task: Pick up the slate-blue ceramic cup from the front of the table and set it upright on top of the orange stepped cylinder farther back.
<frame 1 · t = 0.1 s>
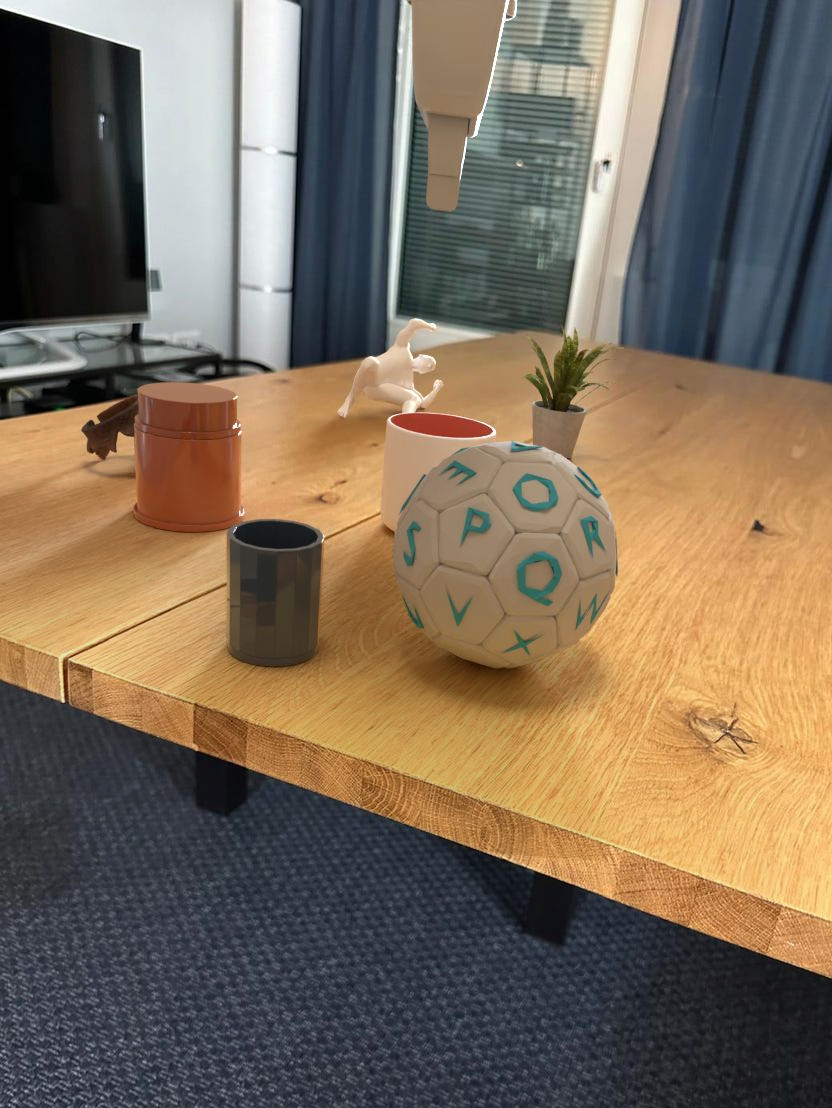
hand: (442, 210, 57), 28 cm above the table, tool pointing down, fingers open, 8 cm apart
person figurine: (392, 413, 134), on the table
orange stepped cylinder: (189, 514, 84), on the table
slate cup: (273, 646, 62), on the table
puzzle ball: (492, 657, 65), on the table
cup: (431, 531, 88), on the table
house plant: (559, 458, 121), on the table
dark brown jagged part: (147, 467, 96), on the table
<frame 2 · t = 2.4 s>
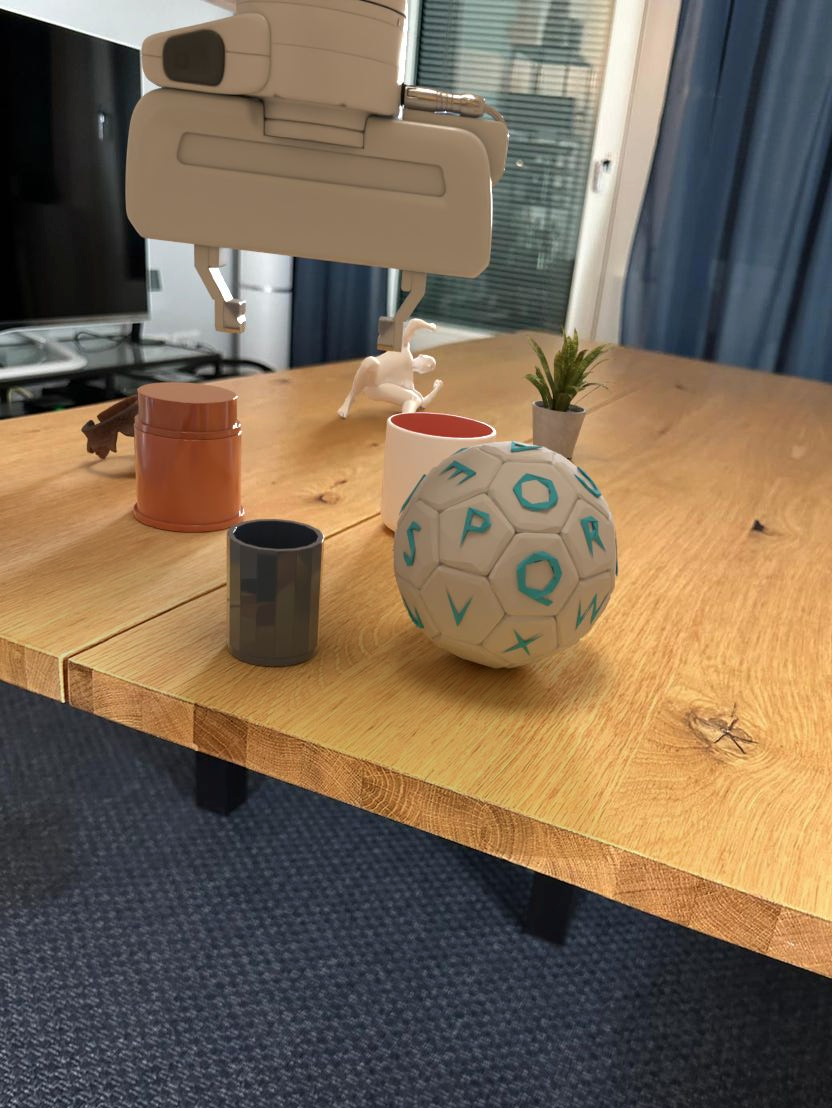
hand: (310, 340, 55), 20 cm above the table, tool pointing down, fingers open, 8 cm apart
nothing on the table moved.
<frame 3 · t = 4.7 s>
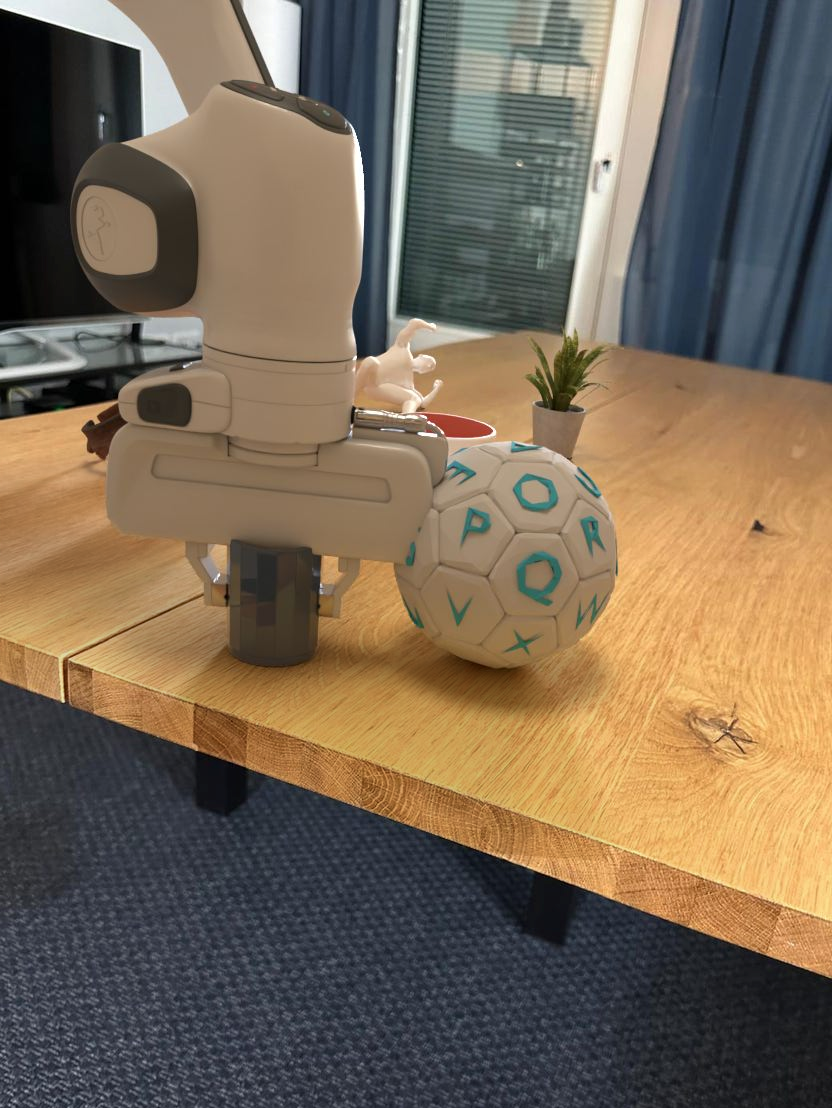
hand: (273, 608, 61), 3 cm above the table, tool pointing down, fingers closed on slate cup, 6 cm apart
slate cup: (273, 646, 62), on the table, touching gripper
everything else where it was.
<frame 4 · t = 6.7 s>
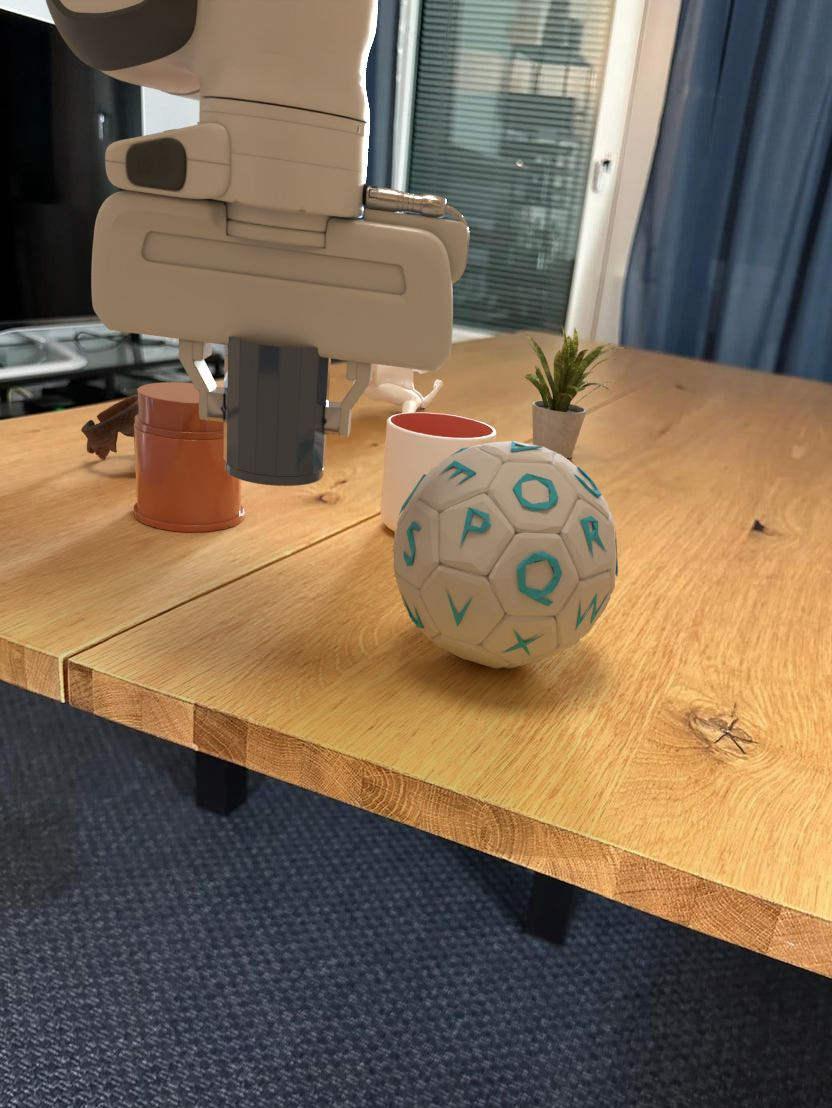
hand: (275, 426, 56), 15 cm above the table, tool pointing down, fingers closed on slate cup, 6 cm apart
slate cup: (274, 471, 57), point 12 cm above the table, touching gripper
everything else where it was.
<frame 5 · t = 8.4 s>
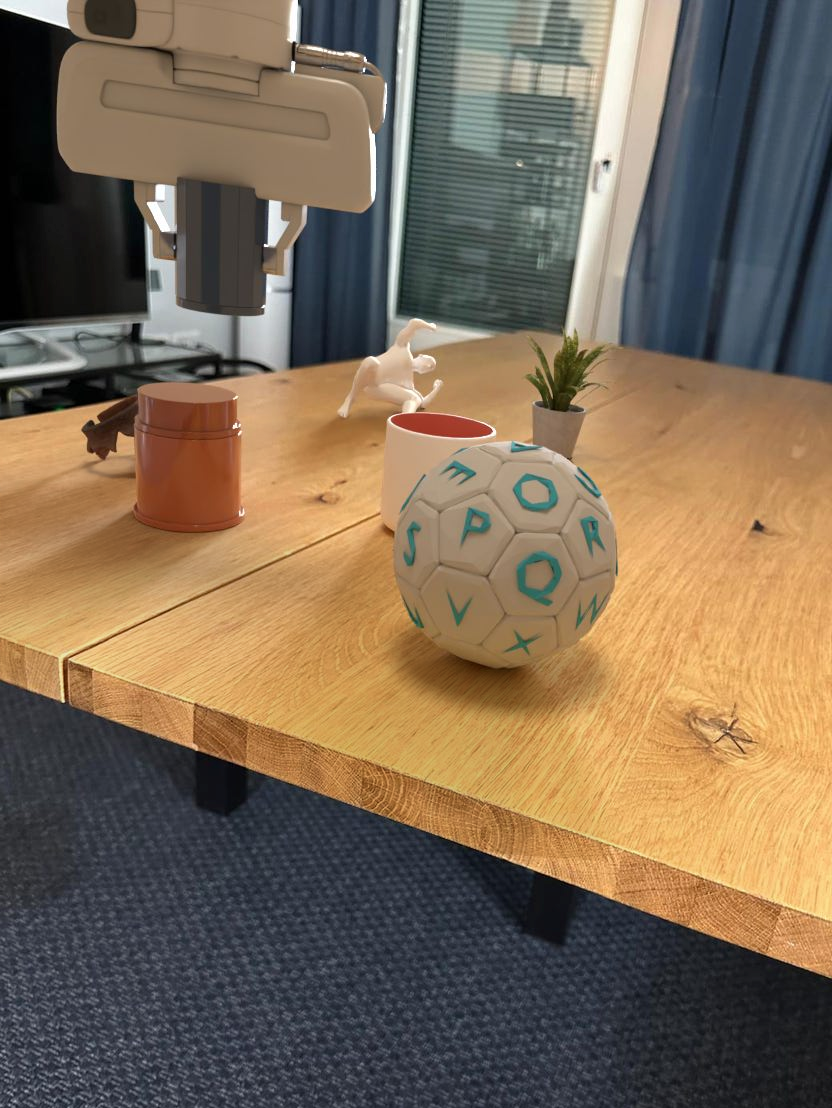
hand: (220, 267, 64), 22 cm above the table, tool pointing down, fingers closed on slate cup, 6 cm apart
slate cup: (220, 309, 65), point 20 cm above the table, touching gripper
everything else where it was.
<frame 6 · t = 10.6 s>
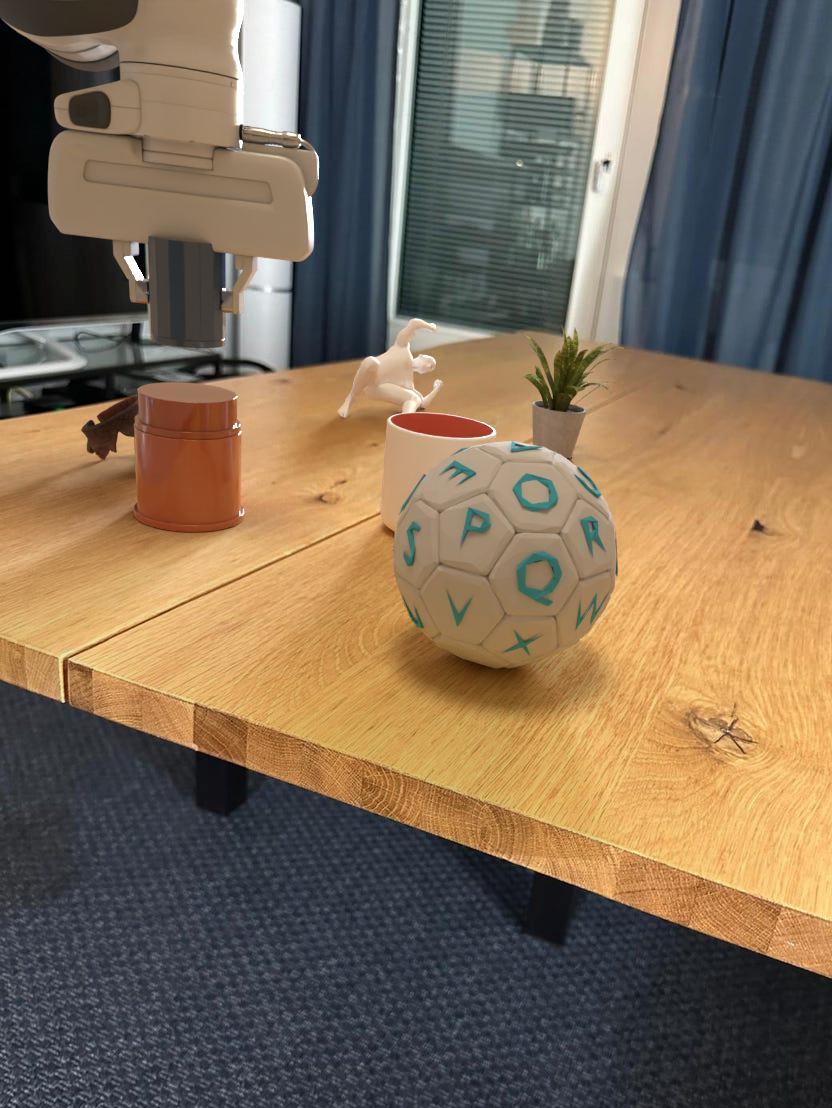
hand: (186, 307, 77), 18 cm above the table, tool pointing down, fingers closed on slate cup, 6 cm apart
slate cup: (188, 342, 78), point 15 cm above the table, touching gripper
everything else where it was.
when the fingers open (14 cm above the table, at t = 12.2 s): slate cup stays where it is, resting on orange stepped cylinder.
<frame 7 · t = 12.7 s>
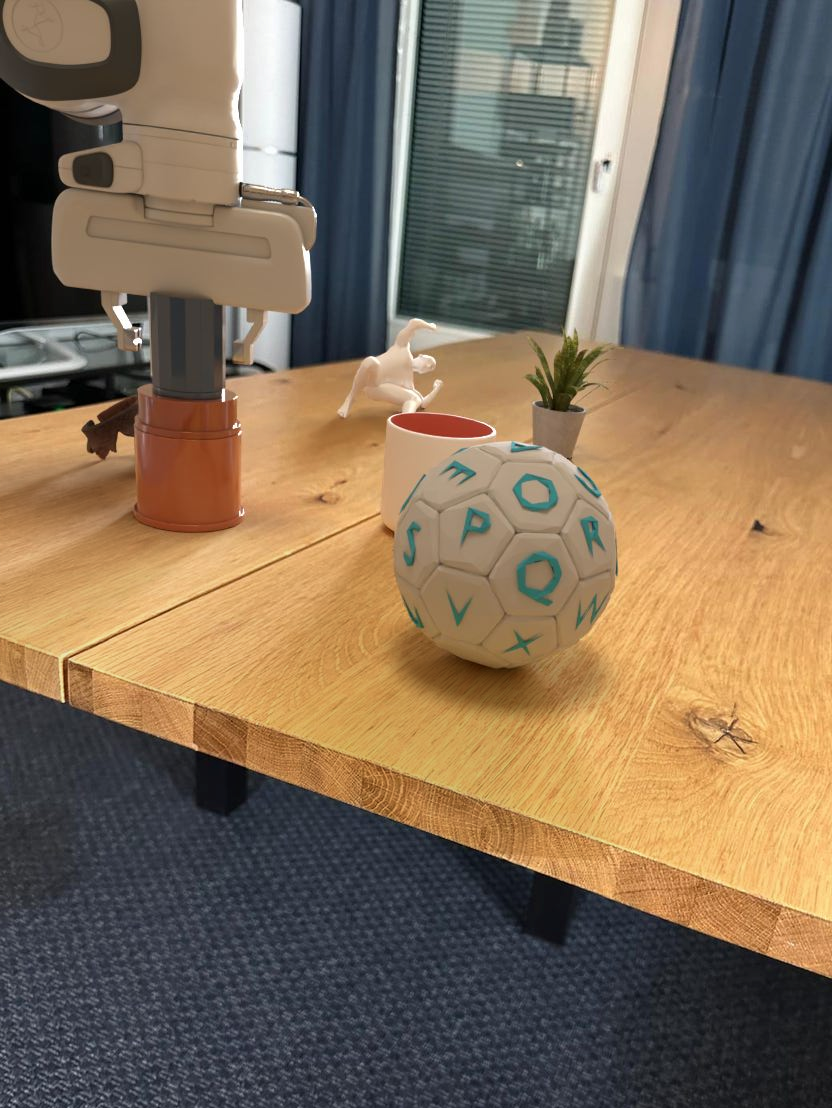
hand: (186, 356, 78), 14 cm above the table, tool pointing down, fingers open, 8 cm apart
slate cup: (188, 392, 80), point 11 cm above the table, touching orange stepped cylinder
everything else where it was.
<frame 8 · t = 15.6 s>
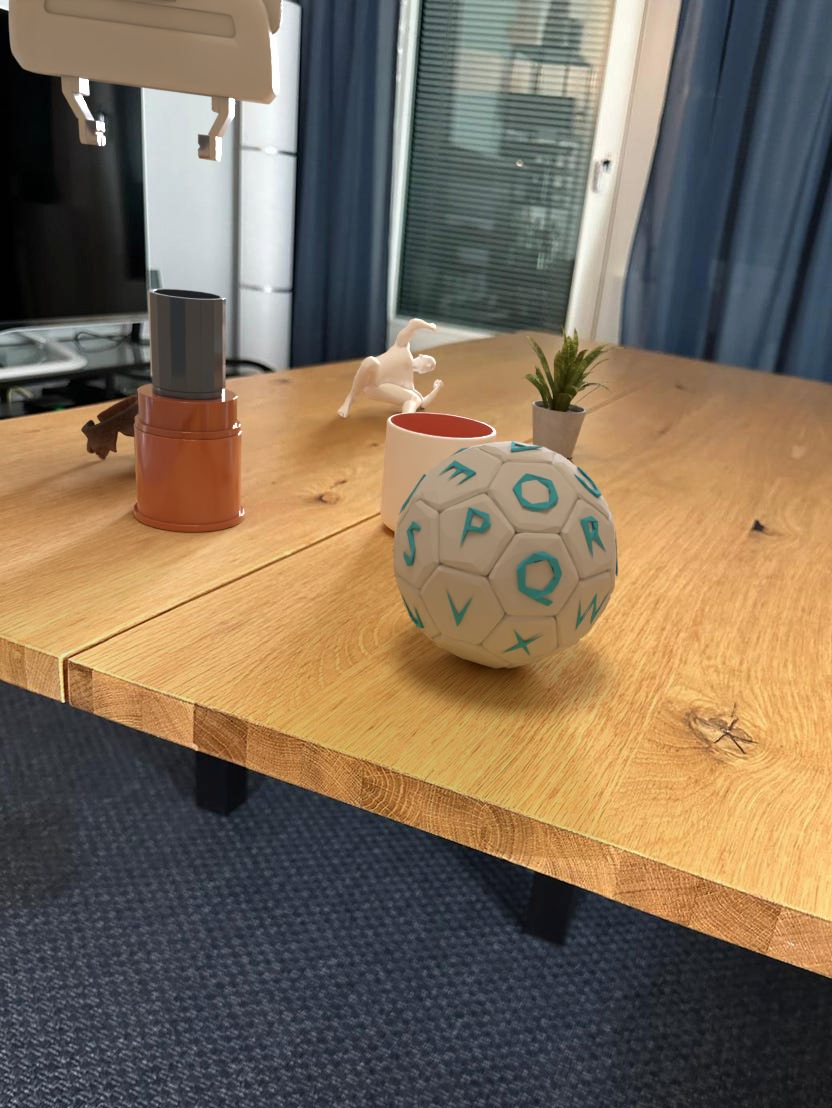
hand: (151, 152, 76), 29 cm above the table, tool pointing down, fingers open, 8 cm apart
nothing on the table moved.
at the end: slate cup 0.1 cm off-centre on the orange stepped cylinder, point 11.0 cm above the orange stepped cylinder's base; slate cup tilted 0°; the gripper is holding nothing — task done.
